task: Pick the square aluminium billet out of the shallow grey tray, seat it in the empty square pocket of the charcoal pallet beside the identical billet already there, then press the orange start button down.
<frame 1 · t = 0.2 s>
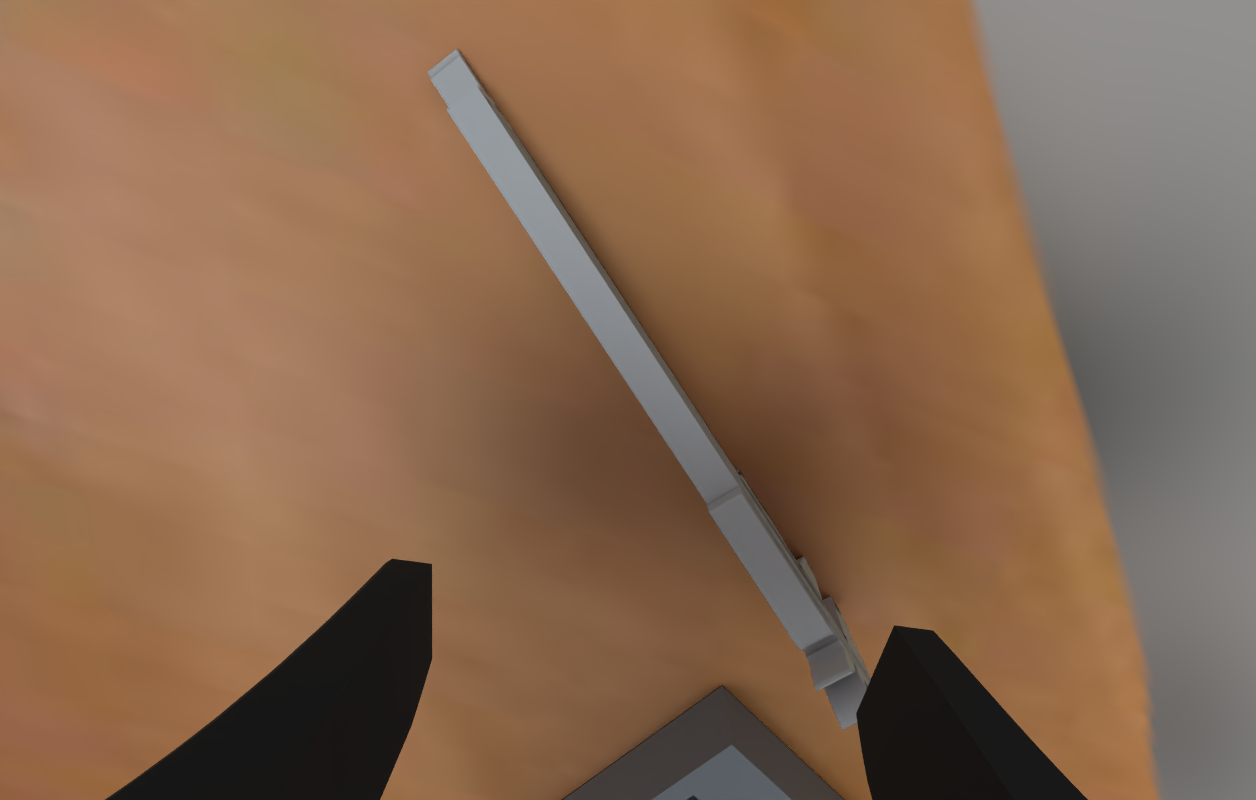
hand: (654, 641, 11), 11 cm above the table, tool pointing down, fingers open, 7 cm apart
caliper: (657, 367, 21), on the table
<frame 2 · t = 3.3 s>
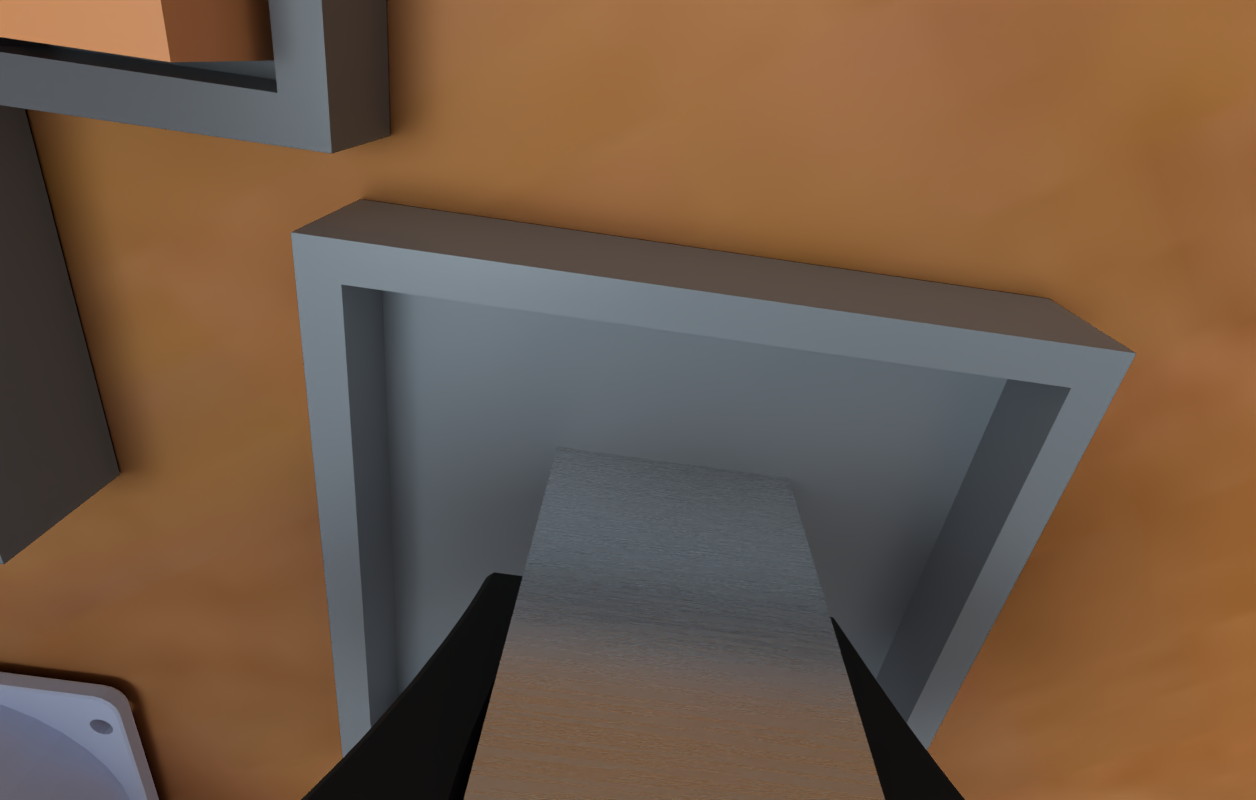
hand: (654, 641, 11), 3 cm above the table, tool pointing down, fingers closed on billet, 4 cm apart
billet: (655, 553, 12), point 1 cm above the table, touching gripper, shallow grey tray
shallow grey tray: (655, 526, 13), on the table
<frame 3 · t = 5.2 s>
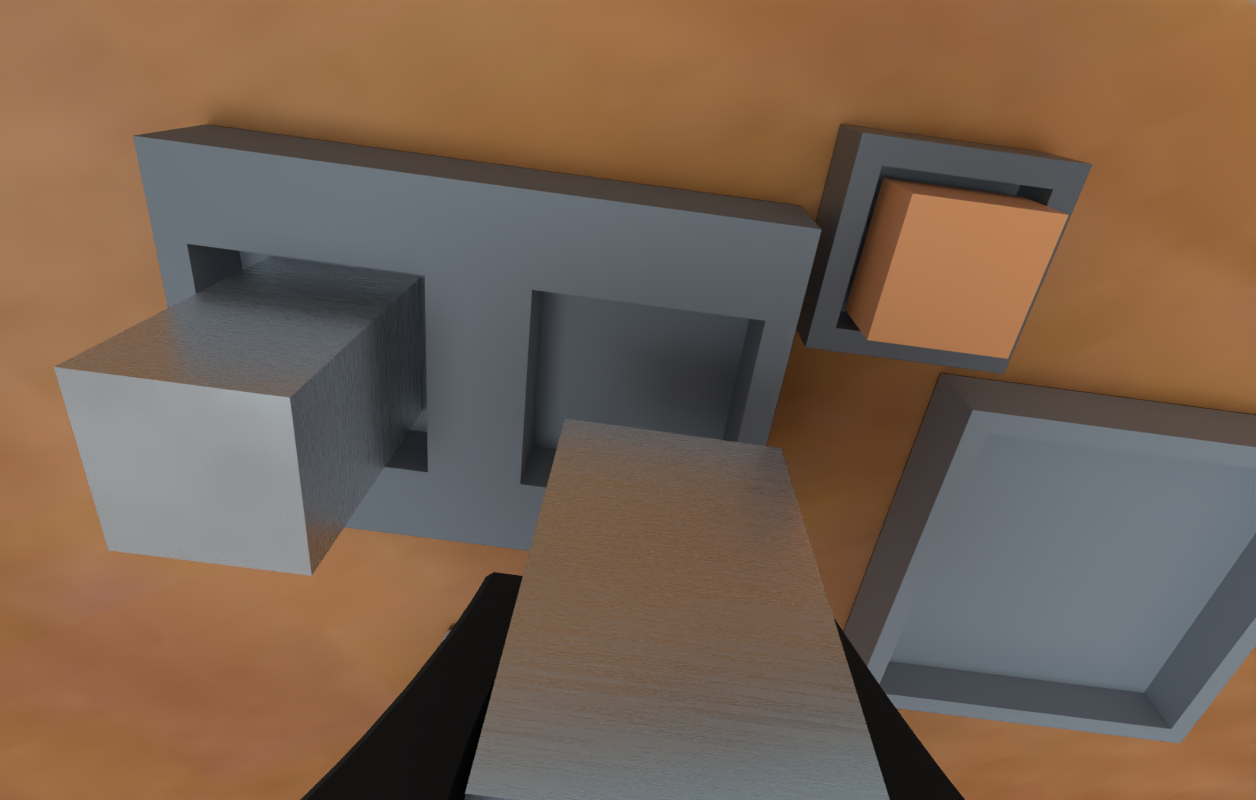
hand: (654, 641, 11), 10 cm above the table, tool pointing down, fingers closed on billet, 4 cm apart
billet: (656, 520, 13), point 7 cm above the table, touching gripper
pallet: (498, 347, 19), on the table
shallow grey tray: (1051, 549, 22), on the table
start button: (945, 267, 15), point 2 cm above the table, slide at 0.0 cm
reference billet: (349, 337, 19), point 1 cm above the table, touching pallet
button housing: (910, 241, 17), on the table
when the fingers open (4 cm above the table, at t = 7.2 s): billet stays where it is, resting on pallet.
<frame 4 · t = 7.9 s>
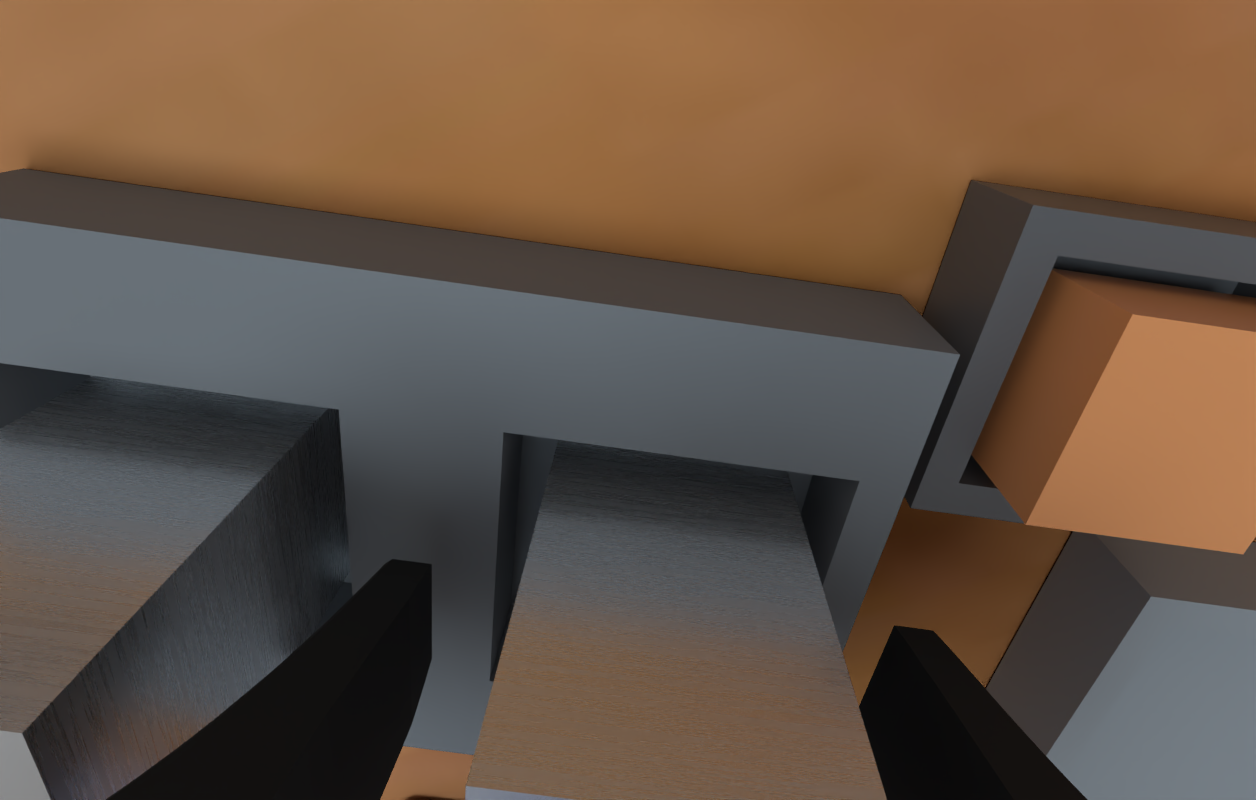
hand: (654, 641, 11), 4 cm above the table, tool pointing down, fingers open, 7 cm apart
billet: (656, 517, 13), point 1 cm above the table, touching pallet
pallet: (462, 475, 14), on the table
shallow grey tray: (1202, 730, 16), on the table
start button: (1144, 409, 10), point 2 cm above the table, slide at 0.0 cm
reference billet: (250, 464, 13), point 1 cm above the table, touching pallet
button housing: (1057, 345, 12), on the table
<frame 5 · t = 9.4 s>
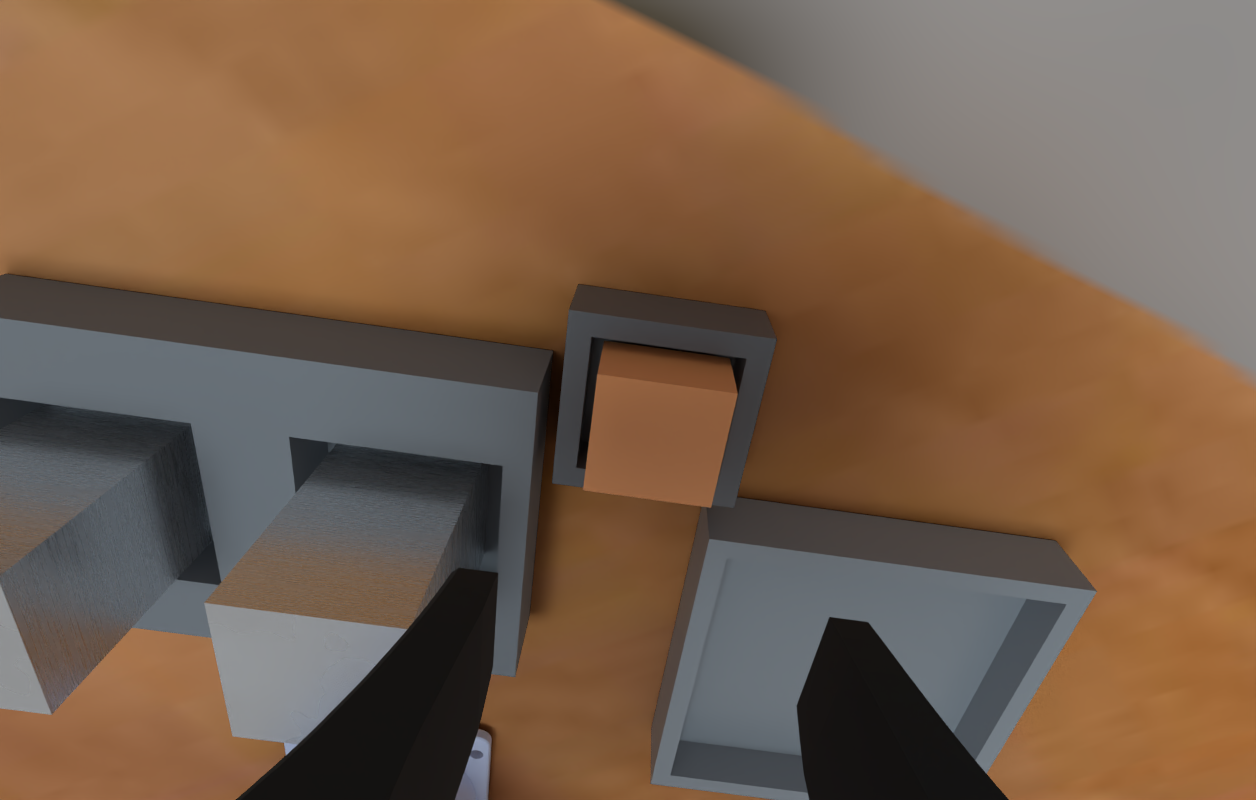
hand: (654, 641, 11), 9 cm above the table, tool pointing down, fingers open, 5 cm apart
billet: (421, 492, 20), point 1 cm above the table, touching pallet
pallet: (298, 464, 21), on the table
shallow grey tray: (832, 644, 23), on the table
start button: (657, 423, 17), point 2 cm above the table, slide at 0.0 cm
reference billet: (155, 457, 20), point 1 cm above the table, touching pallet
button housing: (657, 381, 19), on the table
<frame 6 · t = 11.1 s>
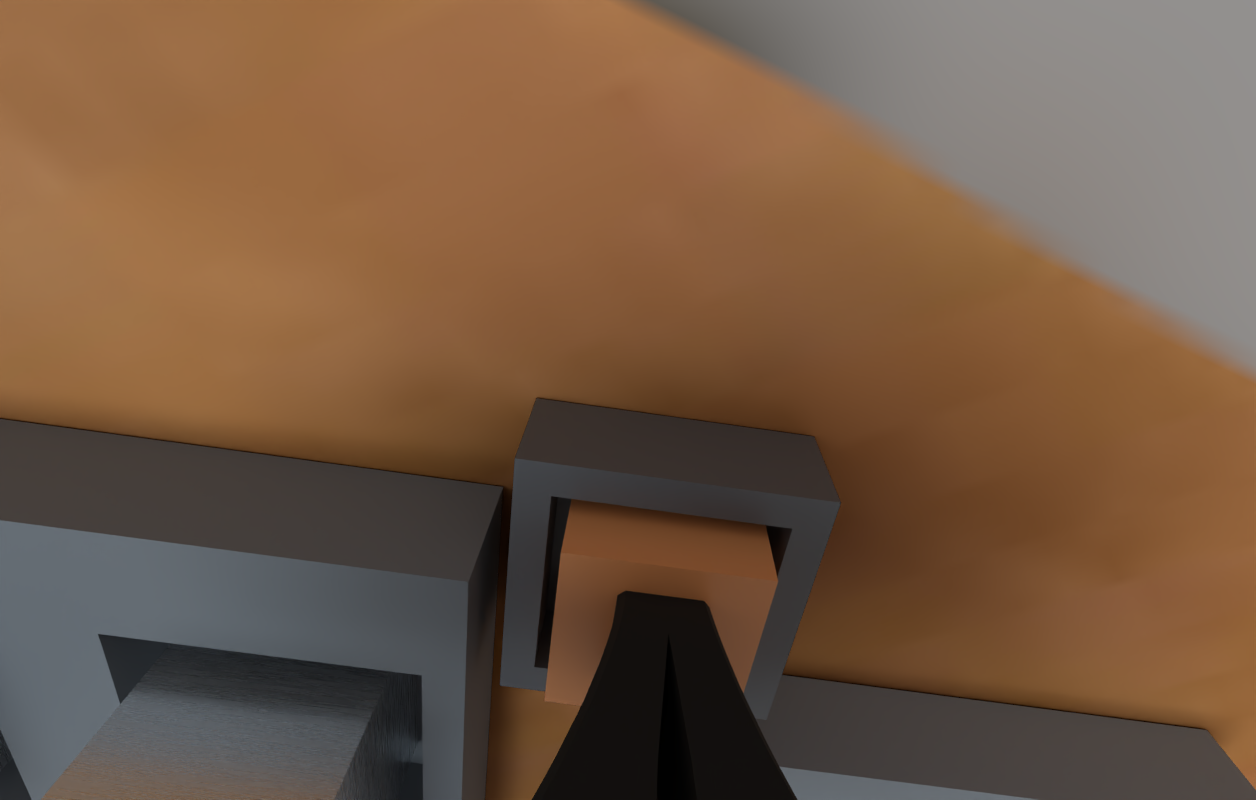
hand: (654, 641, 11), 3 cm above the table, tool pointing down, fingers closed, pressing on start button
billet: (324, 669, 14), point 1 cm above the table, touching pallet
pallet: (156, 626, 15), on the table
start button: (654, 599, 11), point 2 cm above the table, slide at 0.5 cm, touching gripper
button housing: (654, 528, 13), on the table
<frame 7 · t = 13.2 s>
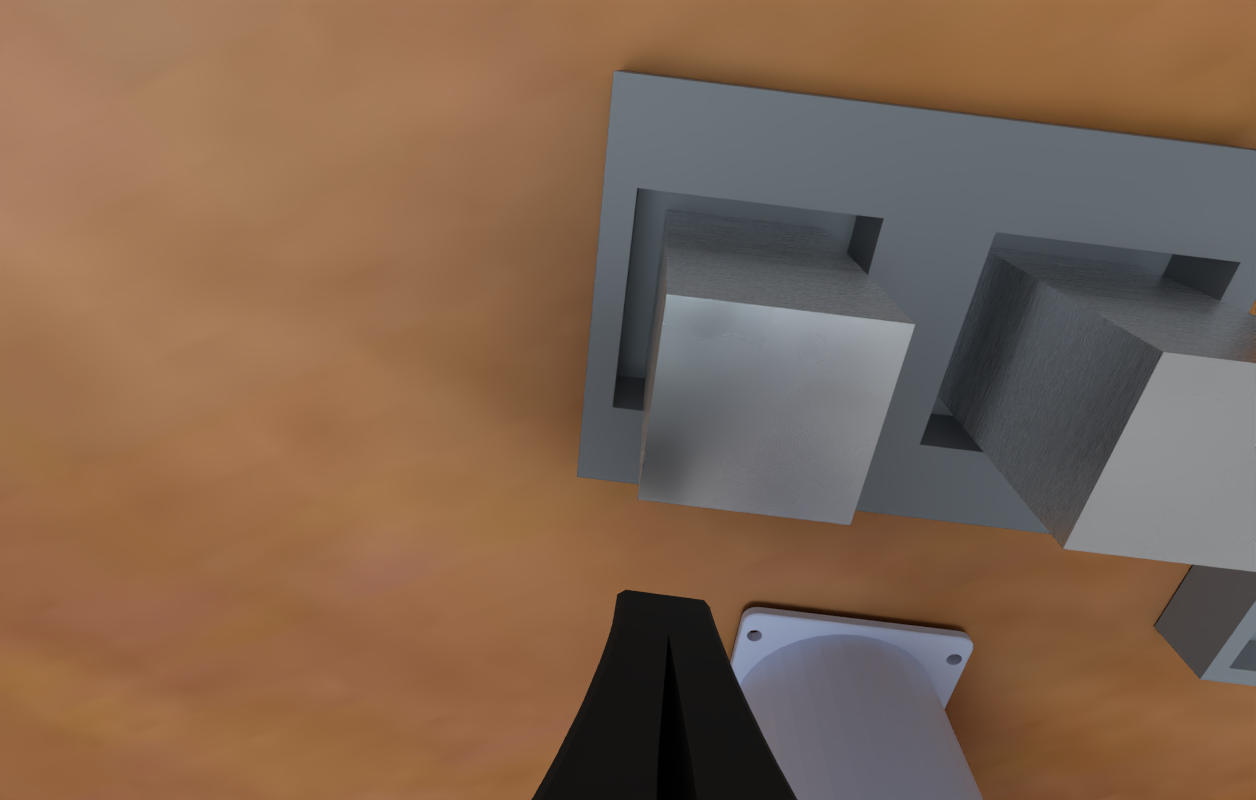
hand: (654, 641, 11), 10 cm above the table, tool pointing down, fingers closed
billet: (1028, 329, 18), point 1 cm above the table, touching pallet
pallet: (873, 305, 18), on the table
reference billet: (730, 294, 18), point 1 cm above the table, touching pallet
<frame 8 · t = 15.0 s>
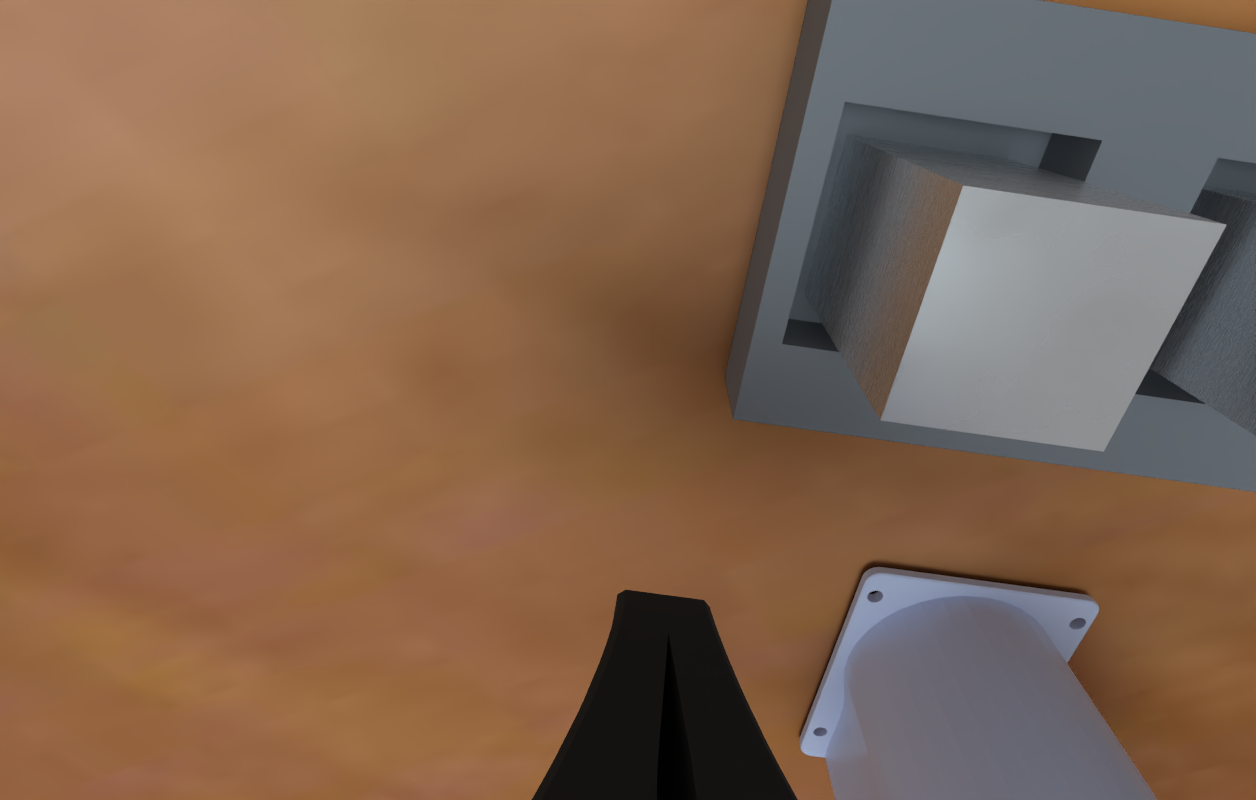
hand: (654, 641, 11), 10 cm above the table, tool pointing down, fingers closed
billet: (1207, 272, 17), point 1 cm above the table, touching pallet
pallet: (1043, 246, 18), on the table
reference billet: (901, 229, 17), point 1 cm above the table, touching pallet
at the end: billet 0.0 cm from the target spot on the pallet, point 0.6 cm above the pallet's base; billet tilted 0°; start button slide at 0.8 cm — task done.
